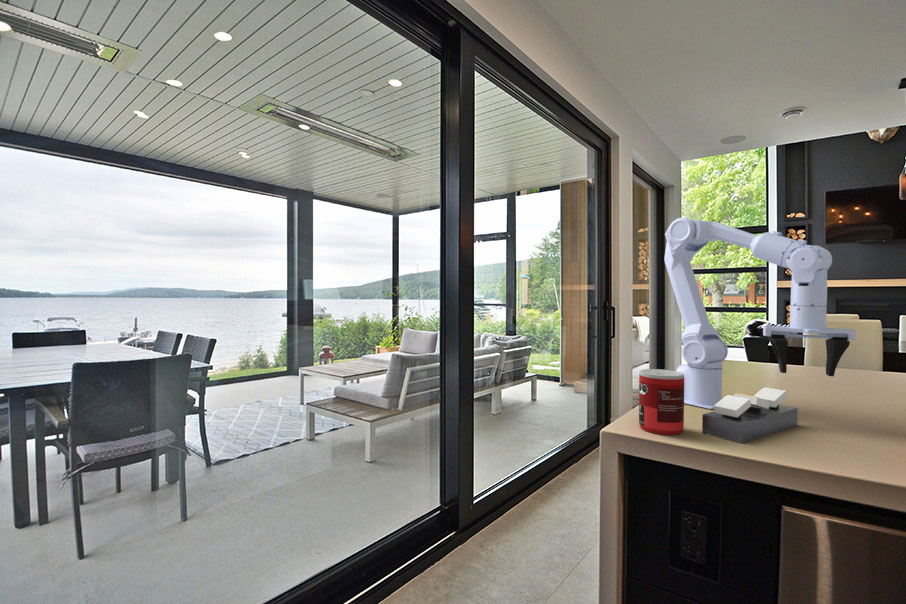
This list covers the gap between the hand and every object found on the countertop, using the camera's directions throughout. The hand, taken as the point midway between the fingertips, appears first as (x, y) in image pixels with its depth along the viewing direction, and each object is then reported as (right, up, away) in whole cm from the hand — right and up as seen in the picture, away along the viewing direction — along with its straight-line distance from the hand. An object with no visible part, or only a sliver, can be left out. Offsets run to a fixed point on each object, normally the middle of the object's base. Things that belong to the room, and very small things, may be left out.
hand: (806, 373), depth 92 cm
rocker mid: (-13, -5, -4) cm, 14 cm away
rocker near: (-19, -5, -7) cm, 21 cm away
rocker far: (-7, -5, 0) cm, 9 cm away
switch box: (-11, -10, -2) cm, 15 cm away
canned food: (-31, -10, -4) cm, 33 cm away
